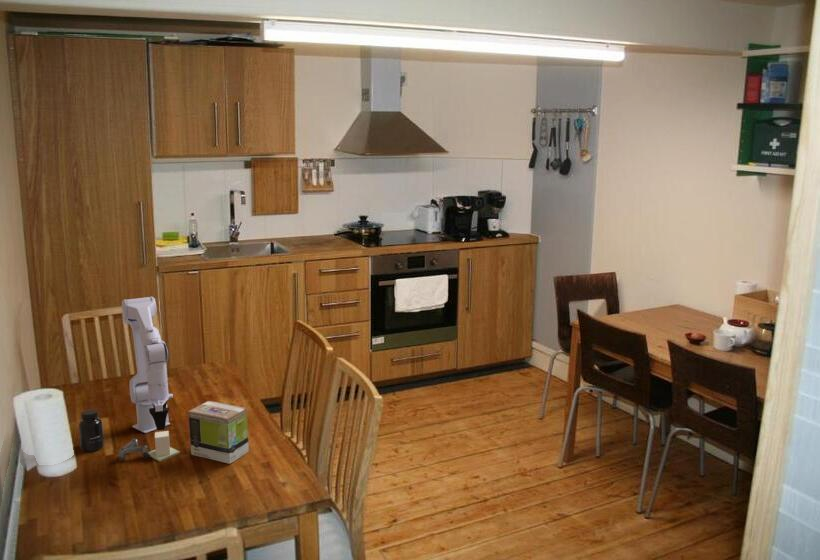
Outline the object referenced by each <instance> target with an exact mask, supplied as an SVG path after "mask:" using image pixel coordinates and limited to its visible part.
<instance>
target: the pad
mask: <svg viewBox="0 0 820 560" xmlns="http://www.w3.org/2000/svg"><path fill="white" fill-rule="evenodd" d="M180 452H181V451H179V450H177V449H175V448H173V447H172V446H170V454H168V455H161V456H156V449H153V450H150V451H148V454H149V457H150V458H152V459H154V460H156V461H158V462H162V461H165V460H167V459H169V458H173V457H174V456H178V455H179V453H180Z"/></svg>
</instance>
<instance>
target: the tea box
mask: <svg viewBox="0 0 820 560" xmlns="http://www.w3.org/2000/svg"><path fill="white" fill-rule="evenodd" d="M247 409H248V408H247V407H243V406H238V405H233V404H229V403H224V402H219V401H212V400H207V401H206V402H204V403H201V404H200V405H198V406H195V407H194V408H191V409H190V410H188V425H189V427H188V428H189V440H190V441H189V442H190V453H191V455H192V456H194V457H195V456H196V457H198V458H199V457H200V458H204V459H208V460H212V461H217V462H220V463H223V464H229V465H231V464H233V462H235V461H237V460H239V459H240V458H241V457H243V456H245V455H246V454H247V453H249V450H250V449H249V446H250V445H249V430H248V411H247Z"/></svg>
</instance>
